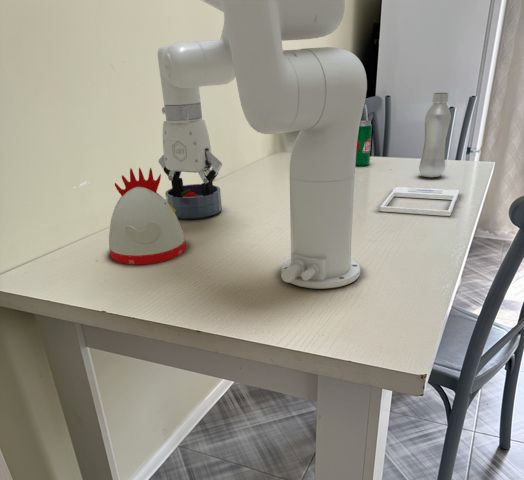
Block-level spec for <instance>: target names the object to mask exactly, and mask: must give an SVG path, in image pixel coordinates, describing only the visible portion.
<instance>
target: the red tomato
mask: <svg viewBox="0 0 524 480" xmlns="http://www.w3.org/2000/svg"><path fill="white" fill-rule="evenodd" d="M180 195H181V196H182V197H197V195H196V194H195V193H194V192H191V189H188V190H186V191H184V192H182V193H181V194H180Z"/></svg>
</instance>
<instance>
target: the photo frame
mask: <svg viewBox="0 0 524 480" xmlns="http://www.w3.org/2000/svg"><path fill="white" fill-rule="evenodd" d="M459 195H460V190H459V189H448V188H447V189H445V188H444V189H442V188H427V187H425V188H424V187H409V186H407V187H406V186H395V187H394V189H393V190H392V191H391V192H390V194H388V196H387V197H386V199H384V201H383V202H382V203H381V204H380V206H379V212H389V213H399V214H401V213H402V214H415V215H416V214H417V215H429V216H443V217H444V216H445V217H451V216H452V212H453V210H454V207H455V204H456V202H457V200H458V197H459ZM394 197H401V198H415V199H431V200H446V201H447V200H449V201H451V202H450V204H449V206H448V209H447V210H445V209H431V208H430V209H429V208H417V207H404V206H403V207H402V206H388V205H389V204H390V203H391V201H392V200H393V198H394Z"/></svg>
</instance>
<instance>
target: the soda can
mask: <svg viewBox="0 0 524 480" xmlns="http://www.w3.org/2000/svg"><path fill="white" fill-rule="evenodd" d="M372 128H373V125H372V121H371V120H366V119H365V120H363V119H361V121H360V126H359V132H358V139H357V148H356V163H355V167H367V166H369V164H370V161H371V148H372V147H371V145H372V131H373V130H372Z"/></svg>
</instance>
